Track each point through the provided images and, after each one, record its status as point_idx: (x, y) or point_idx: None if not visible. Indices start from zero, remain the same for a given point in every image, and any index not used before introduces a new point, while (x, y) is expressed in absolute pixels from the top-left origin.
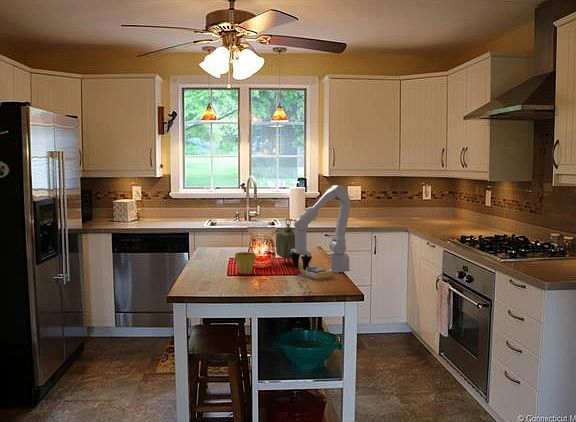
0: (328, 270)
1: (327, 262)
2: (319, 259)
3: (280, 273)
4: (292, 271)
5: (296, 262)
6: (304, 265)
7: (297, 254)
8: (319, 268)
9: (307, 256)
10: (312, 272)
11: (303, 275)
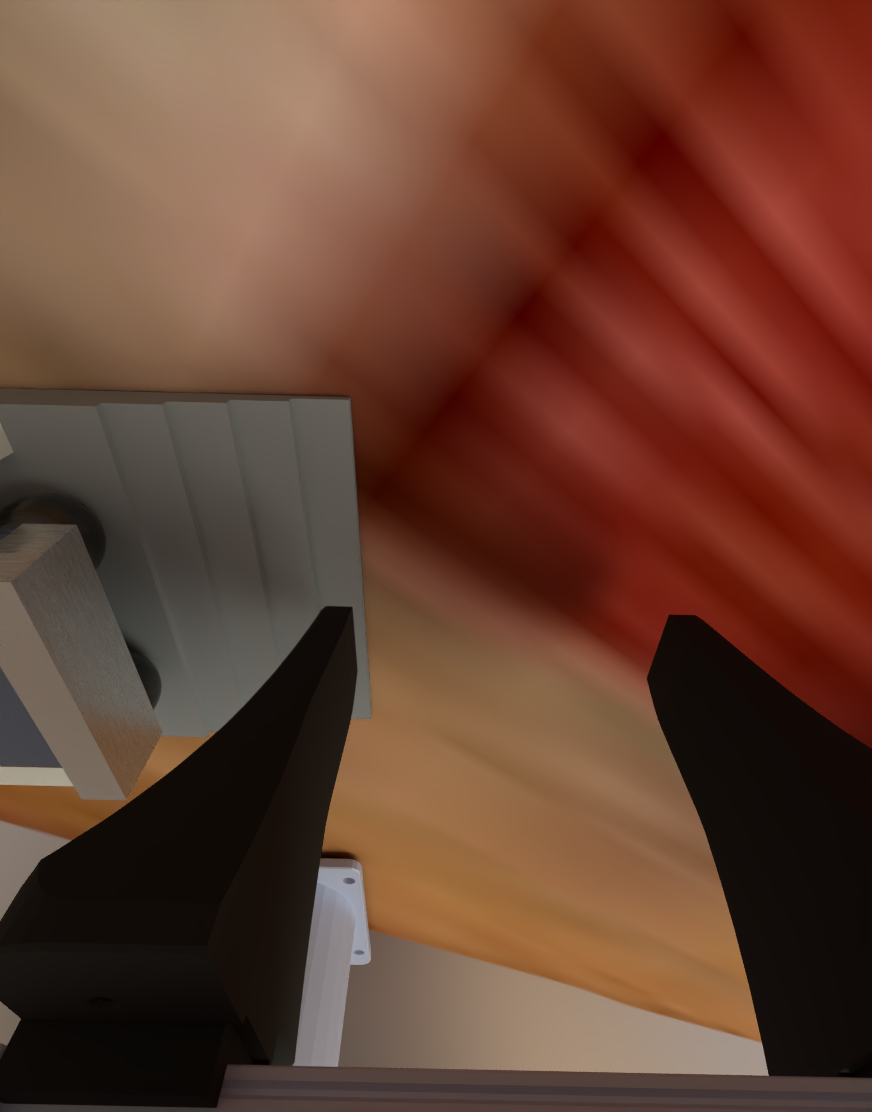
0: (321, 863)
1: (681, 1003)
2: None
3: (818, 140)
4: (698, 545)
5: (709, 747)
6: (274, 683)
7: (825, 1037)
8: (11, 764)
9: (29, 1035)
10: None
11: (99, 399)
